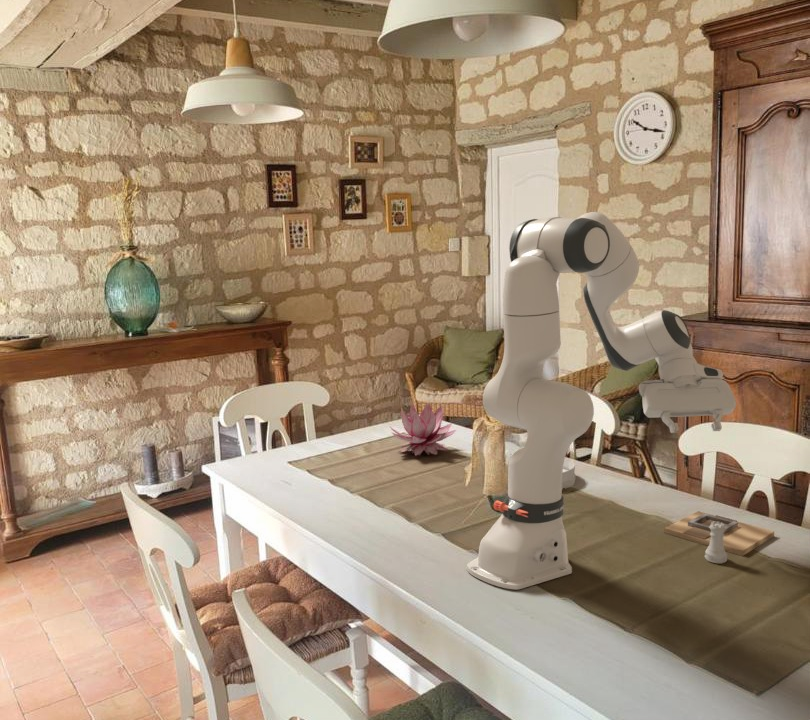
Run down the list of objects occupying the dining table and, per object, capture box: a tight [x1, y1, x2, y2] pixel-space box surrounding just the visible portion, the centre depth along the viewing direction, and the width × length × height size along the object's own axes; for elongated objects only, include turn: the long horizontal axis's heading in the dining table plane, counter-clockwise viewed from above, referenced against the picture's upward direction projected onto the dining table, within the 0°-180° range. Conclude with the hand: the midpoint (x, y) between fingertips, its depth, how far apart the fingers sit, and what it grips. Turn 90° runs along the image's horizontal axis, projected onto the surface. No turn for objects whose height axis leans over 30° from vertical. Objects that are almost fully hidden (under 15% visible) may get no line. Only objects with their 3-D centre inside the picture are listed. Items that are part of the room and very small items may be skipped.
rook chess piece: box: [704, 521, 728, 565], centre depth 156 cm, size 4×4×8 cm
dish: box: [562, 457, 576, 489], centre depth 212 cm, size 22×22×5 cm
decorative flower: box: [389, 402, 457, 456], centre depth 240 cm, size 21×21×15 cm
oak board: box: [663, 511, 775, 557], centre depth 170 cm, size 16×18×2 cm
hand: (696, 430), depth 165 cm, fingers open, 8 cm apart
